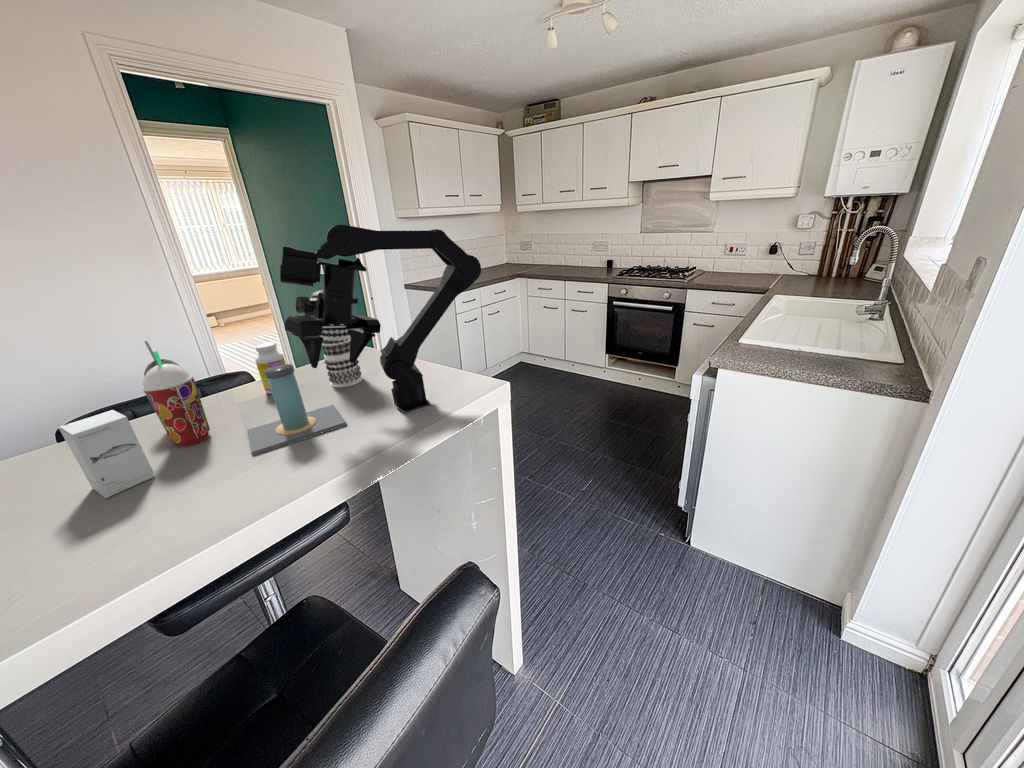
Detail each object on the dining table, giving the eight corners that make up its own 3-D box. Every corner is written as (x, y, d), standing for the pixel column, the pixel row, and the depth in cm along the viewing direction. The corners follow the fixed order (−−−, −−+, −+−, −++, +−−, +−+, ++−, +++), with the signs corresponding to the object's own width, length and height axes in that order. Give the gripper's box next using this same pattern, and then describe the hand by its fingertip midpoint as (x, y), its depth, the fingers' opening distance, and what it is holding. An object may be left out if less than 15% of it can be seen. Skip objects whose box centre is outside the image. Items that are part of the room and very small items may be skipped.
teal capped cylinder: (313, 417, 91) (297, 362, 86) (304, 429, 87) (287, 371, 82) (288, 420, 91) (270, 365, 86) (278, 432, 86) (258, 375, 81)
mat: (334, 407, 98) (333, 403, 98) (346, 425, 89) (345, 421, 89) (248, 433, 89) (246, 428, 89) (252, 455, 80) (250, 451, 80)
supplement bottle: (276, 396, 108) (261, 349, 103) (260, 393, 111) (245, 347, 106) (298, 386, 114) (284, 341, 109) (282, 383, 117) (268, 340, 112)
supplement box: (105, 500, 70) (69, 435, 65) (91, 488, 74) (56, 426, 69) (157, 476, 76) (127, 415, 71) (141, 466, 79) (112, 408, 75)
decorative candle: (347, 389, 109) (323, 294, 99) (321, 386, 112) (296, 294, 103) (371, 376, 116) (350, 287, 107) (346, 374, 120) (324, 287, 110)
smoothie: (224, 433, 90) (190, 346, 82) (183, 453, 83) (141, 360, 75) (202, 428, 93) (166, 344, 86) (160, 446, 86) (118, 357, 79)
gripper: (350, 285, 94) (345, 351, 98) (268, 280, 78) (267, 359, 82) (385, 295, 89) (378, 364, 93) (305, 291, 73) (301, 375, 77)
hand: (333, 365), depth 87 cm, fingers open, 9 cm apart
